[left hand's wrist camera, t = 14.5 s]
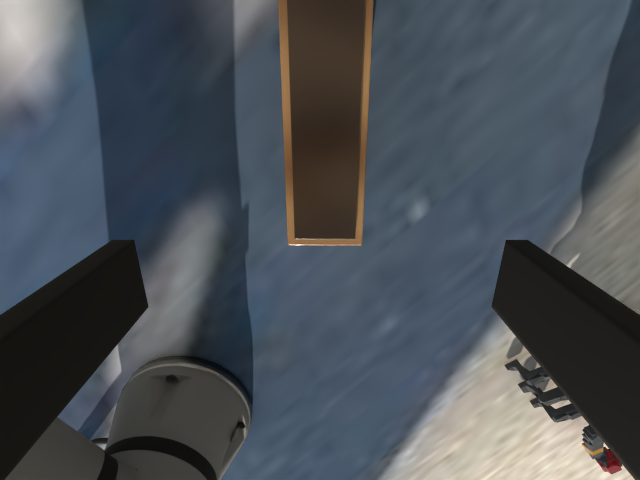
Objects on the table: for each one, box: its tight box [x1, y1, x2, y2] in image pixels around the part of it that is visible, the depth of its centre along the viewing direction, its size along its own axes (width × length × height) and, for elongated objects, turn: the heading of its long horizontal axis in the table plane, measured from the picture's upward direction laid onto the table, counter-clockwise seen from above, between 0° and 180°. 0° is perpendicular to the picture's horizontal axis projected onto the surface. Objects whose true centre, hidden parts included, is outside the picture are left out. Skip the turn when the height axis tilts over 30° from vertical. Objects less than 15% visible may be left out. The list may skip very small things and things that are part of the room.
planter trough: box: [278, 0, 374, 245], centre depth 22 cm, size 28×5×10 cm, turn 0°
